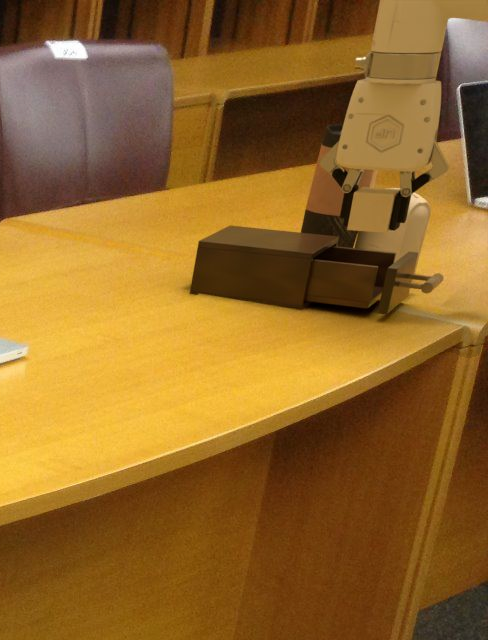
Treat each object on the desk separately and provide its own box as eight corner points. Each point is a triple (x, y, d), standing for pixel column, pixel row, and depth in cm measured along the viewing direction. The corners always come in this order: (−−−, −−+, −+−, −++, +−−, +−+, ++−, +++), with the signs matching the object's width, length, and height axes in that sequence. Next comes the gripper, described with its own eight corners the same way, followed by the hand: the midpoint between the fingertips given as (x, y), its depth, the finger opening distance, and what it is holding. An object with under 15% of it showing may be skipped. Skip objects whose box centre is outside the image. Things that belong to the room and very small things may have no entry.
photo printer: (343, 269, 225) (365, 182, 219) (368, 269, 226) (391, 182, 220) (390, 286, 216) (414, 196, 210) (416, 285, 217) (441, 196, 211)
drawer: (441, 300, 204) (452, 255, 201) (421, 319, 194) (433, 272, 191) (302, 283, 213) (311, 241, 210) (277, 300, 203) (286, 256, 201)
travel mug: (345, 268, 226) (381, 126, 217) (349, 279, 220) (387, 134, 211) (289, 263, 229) (323, 122, 219) (292, 274, 222) (327, 130, 213)
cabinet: (327, 292, 212) (339, 236, 209) (300, 311, 202) (312, 253, 198) (219, 279, 220) (229, 225, 217) (188, 297, 209) (198, 240, 206)
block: (394, 227, 189) (402, 189, 187) (386, 233, 185) (394, 194, 183) (355, 224, 191) (362, 187, 189) (346, 230, 188) (354, 192, 186)
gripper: (318, 69, 182) (290, 226, 190) (477, 73, 173) (441, 238, 181) (333, 63, 187) (305, 216, 195) (488, 67, 178) (452, 228, 186)
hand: (371, 225), depth 188 cm, fingers closed on block, 4 cm apart
